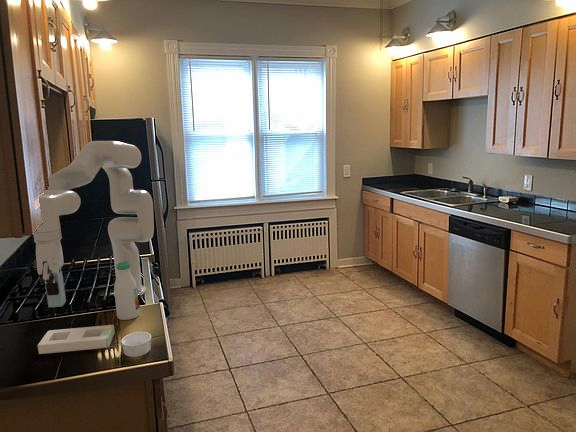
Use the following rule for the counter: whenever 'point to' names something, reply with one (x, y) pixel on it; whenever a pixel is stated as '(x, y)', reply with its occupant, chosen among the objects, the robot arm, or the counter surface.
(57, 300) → the plug
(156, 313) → the counter surface
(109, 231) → the robot arm
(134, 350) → the ramekin
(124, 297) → the milk bottle
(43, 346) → the socket panel
